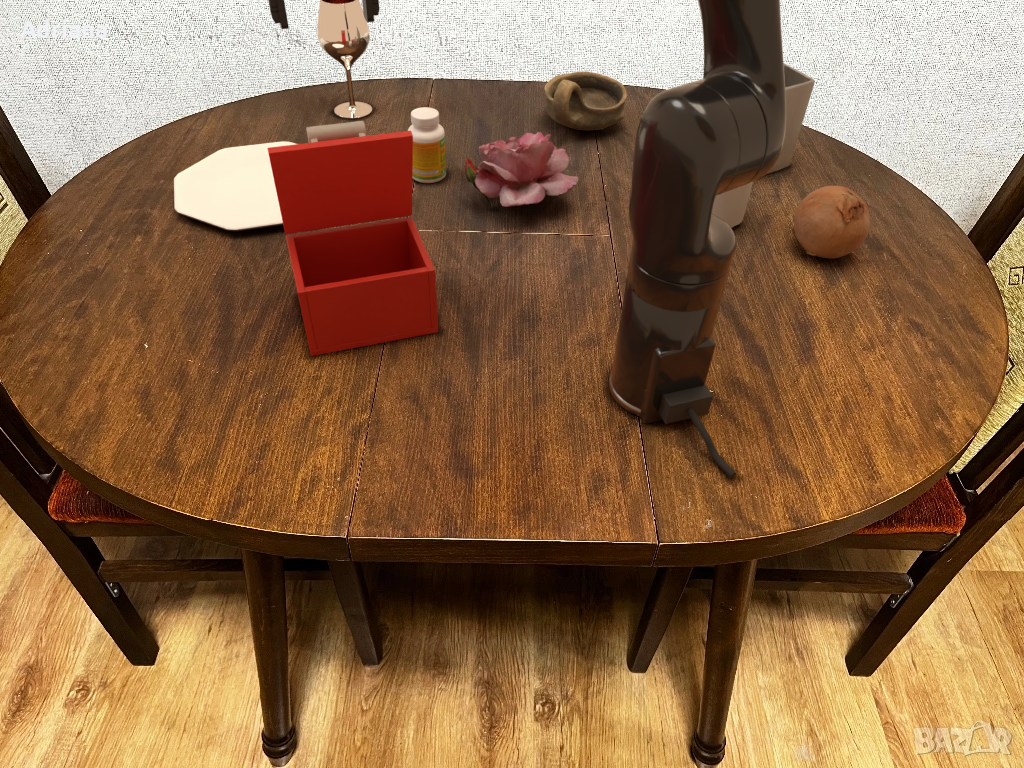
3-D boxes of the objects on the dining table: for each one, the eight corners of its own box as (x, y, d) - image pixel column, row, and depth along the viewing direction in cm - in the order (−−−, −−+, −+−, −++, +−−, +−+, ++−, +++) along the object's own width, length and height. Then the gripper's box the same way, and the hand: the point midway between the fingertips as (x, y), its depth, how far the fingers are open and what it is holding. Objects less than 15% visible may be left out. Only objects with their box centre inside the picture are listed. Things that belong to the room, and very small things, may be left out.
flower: (600, 189, 107) (586, 120, 102) (519, 235, 102) (500, 165, 96) (537, 175, 118) (521, 112, 113) (461, 216, 113) (440, 152, 107)
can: (742, 236, 105) (764, 155, 97) (687, 229, 106) (705, 148, 98) (741, 208, 110) (762, 129, 102) (689, 202, 111) (706, 123, 103)
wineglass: (355, 125, 126) (341, 10, 114) (318, 113, 129) (300, -1, 117) (387, 108, 131) (376, -4, 119) (351, 96, 134) (337, -14, 122)
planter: (788, 190, 114) (829, 59, 101) (735, 182, 116) (768, 51, 102) (790, 142, 126) (826, 19, 113) (741, 135, 127) (771, 13, 114)
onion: (837, 281, 103) (885, 243, 94) (774, 257, 102) (816, 215, 93) (844, 226, 107) (892, 183, 98) (783, 202, 106) (825, 157, 97)
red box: (438, 332, 89) (435, 269, 82) (310, 356, 85) (297, 292, 79) (416, 277, 96) (411, 216, 90) (298, 297, 93) (285, 235, 86)
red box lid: (413, 135, 79) (402, 104, 81) (268, 153, 76) (261, 119, 78) (412, 215, 90) (403, 185, 92) (285, 234, 86) (278, 203, 88)
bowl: (637, 118, 131) (645, 59, 124) (592, 159, 120) (598, 97, 113) (566, 99, 136) (570, 41, 129) (516, 137, 125) (518, 76, 118)
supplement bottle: (448, 183, 113) (445, 120, 107) (411, 185, 113) (407, 122, 106) (444, 165, 117) (442, 104, 111) (409, 167, 116) (404, 105, 110)
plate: (176, 162, 116) (173, 153, 115) (333, 144, 121) (331, 135, 120) (177, 247, 99) (174, 237, 98) (359, 221, 105) (357, 211, 104)
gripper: (218, -164, 62) (258, 43, 73) (392, -168, 65) (405, 30, 77) (213, -179, 67) (251, 16, 78) (374, -182, 70) (388, 5, 82)
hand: (327, 23), depth 77 cm, fingers open, 8 cm apart
